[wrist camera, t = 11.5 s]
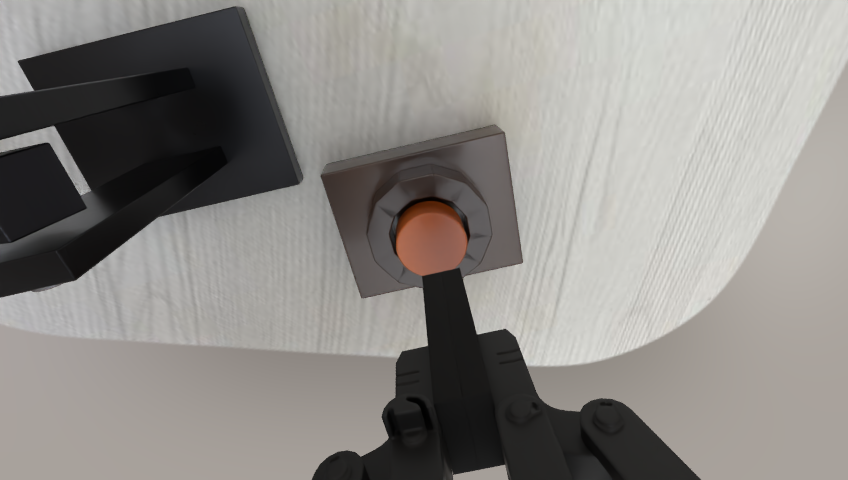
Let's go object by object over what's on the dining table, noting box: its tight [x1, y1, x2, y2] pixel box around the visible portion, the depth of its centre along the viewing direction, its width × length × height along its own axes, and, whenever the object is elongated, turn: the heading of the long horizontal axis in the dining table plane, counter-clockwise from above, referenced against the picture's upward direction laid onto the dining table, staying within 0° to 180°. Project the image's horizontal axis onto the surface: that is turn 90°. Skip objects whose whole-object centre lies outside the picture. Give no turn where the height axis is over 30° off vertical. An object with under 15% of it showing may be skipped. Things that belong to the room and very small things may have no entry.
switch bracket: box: [0, 6, 303, 298], centre depth 18 cm, size 11×9×14 cm
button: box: [396, 201, 467, 276], centre depth 23 cm, size 4×4×2 cm
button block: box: [321, 125, 523, 298], centre depth 25 cm, size 10×8×4 cm
